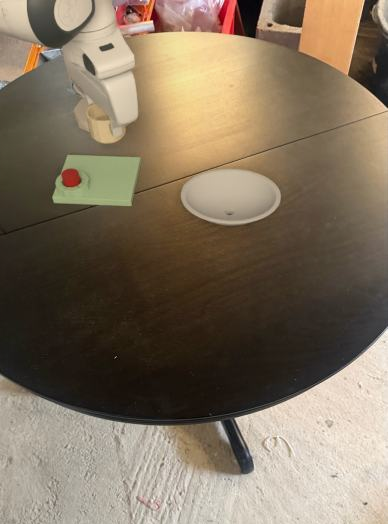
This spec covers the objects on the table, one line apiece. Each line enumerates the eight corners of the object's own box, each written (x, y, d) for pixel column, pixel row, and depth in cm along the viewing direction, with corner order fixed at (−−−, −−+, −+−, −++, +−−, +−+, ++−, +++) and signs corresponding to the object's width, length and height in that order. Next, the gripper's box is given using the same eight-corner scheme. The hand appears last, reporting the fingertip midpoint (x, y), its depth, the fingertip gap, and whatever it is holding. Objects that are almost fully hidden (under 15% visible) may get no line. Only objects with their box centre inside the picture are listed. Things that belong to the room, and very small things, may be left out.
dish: (179, 243, 84) (177, 221, 80) (184, 189, 92) (183, 167, 88) (279, 245, 83) (283, 224, 79) (275, 191, 91) (279, 169, 87)
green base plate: (53, 203, 90) (49, 190, 88) (69, 160, 97) (65, 147, 95) (131, 206, 89) (129, 193, 87) (141, 163, 96) (139, 150, 94)
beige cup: (87, 144, 85) (82, 120, 81) (94, 123, 89) (89, 100, 85) (123, 145, 85) (119, 122, 81) (128, 124, 88) (125, 101, 84)
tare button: (62, 187, 89) (59, 178, 87) (65, 176, 91) (63, 167, 89) (78, 188, 89) (76, 179, 87) (82, 177, 90) (80, 168, 89)
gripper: (44, 19, 77) (65, 102, 89) (102, 74, 68) (117, 158, 79) (79, 9, 79) (95, 91, 90) (140, 61, 69) (149, 145, 81)
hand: (106, 123), depth 85 cm, fingers closed on beige cup, 6 cm apart
